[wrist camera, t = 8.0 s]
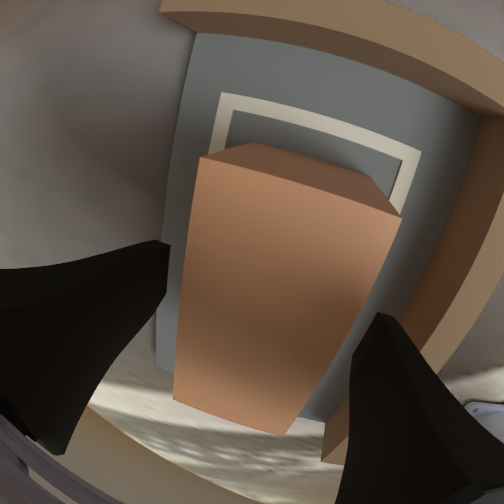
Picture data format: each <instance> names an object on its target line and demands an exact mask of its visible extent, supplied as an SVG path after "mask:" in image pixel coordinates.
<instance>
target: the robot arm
mask: <svg viewBox="0 0 504 504" xmlns="http://www.w3.org/2000/svg"><path fill="white" fill-rule="evenodd" d="M170 248H171V245H169V244H166V243H163V242H160V241H158V240H151V241H146V242H142V243H138V244H135V245H131V246H128V247H124V248H121V249H117V250H114V251H110V252H107V253H103V254H99V255H95V256H91V257H88V258H84V259H80V260H76V261H71V262H66V263H61V264H55V265H49V266H40V267H30V268H19V269H0V504H65V503H64V502H62V501H61V500H59V499H58V498H57V497H55V496H54V495H53V494H51V493H50V492H49V491H47V490H46V489H44V488H43V487H42V486H41V485H39V484H38V483H37V482H35V481H34V480H33V479H32V478H31V477H30V476H29V469H28V467H27V465H28V466H29V467H30V468H31V469H32V470H34V471H35V472H36V473H37V474H39V475H40V476H41V477H42V478H44V479H45V480H46V481H47V482H49V483H50V484H51V485H53V486H54V487H56V488H57V489H58V490H60V491H61V492H63V493H64V494H65V495H67V496H68V497H70V498H71V499H73V500H74V501H76V502H77V503H79V504H124V503H122V502H121V501H119V500H117V499H115V498H113V497H111V496H109V495H108V494H106V493H104V492H102V491H101V490H99V489H97V488H96V487H94V486H92V485H91V484H89V483H87V482H86V481H84V480H83V479H81V478H80V477H78V476H77V475H75V474H74V473H72V472H71V471H69V470H68V469H66V468H65V467H63V466H62V465H61V464H59V463H58V462H57V461H55V460H54V459H52V458H51V457H50V456H49V455H47V454H46V453H45V452H43V451H42V450H41V449H40V448H39V447H37V446H36V445H35V444H34V443H32V442H31V441H30V440H29V439H28V438H27V437H25V436H26V435H27V436H28V437H29V438H31V439H32V440H33V441H34V442H38V443H39V444H40V445H41V446H43V447H44V448H45V449H46V450H48V451H49V452H50V453H52V454H53V455H56V456H57V455H63V454H65V451H66V448H67V446H68V443H69V441H70V439H71V436H72V434H73V432H74V430H75V427H76V425H77V423H78V421H79V419H80V417H81V415H82V413H83V411H84V409H85V407H86V405H87V404H88V402H89V400H90V398H91V397H92V395H93V393H94V391H95V390H96V388H97V386H98V384H99V383H100V381H101V380H102V378H103V377H104V375H105V373H106V372H107V370H108V369H109V367H110V366H111V364H112V363H113V362H114V360H115V359H116V358H117V356H118V355H119V354H120V353H121V352H122V350H123V349H124V348H125V347H126V346H127V344H128V343H129V342H130V341H131V340H132V339H133V337H134V336H135V335H136V334H137V333H138V332H139V331H140V329H141V328H142V327H143V326H144V325H145V323H146V322H147V321H148V320H149V319H150V318H151V316H152V315H153V314H154V312H155V311H156V309H157V308H158V306H159V305H160V303H161V301H162V300H163V298H164V297H165V295H166V293H167V280H168V269H169V258H170ZM335 504H504V405H502V404H490V403H480V402H471V403H469V404H467V405H466V406H465V407H463V406H462V405H461V404H460V403H459V402H458V400H457V399H456V398H455V397H454V396H453V395H452V394H451V392H450V391H449V390H448V389H447V388H446V386H445V385H444V384H443V383H442V381H441V380H440V379H439V377H438V376H437V375H436V373H435V372H434V371H433V370H432V368H431V367H430V365H429V364H428V363H427V361H426V360H425V359H424V357H423V356H422V354H421V353H420V351H419V350H418V349H417V347H416V346H415V344H414V343H413V341H412V340H411V339H410V337H409V336H408V334H407V333H406V332H405V330H404V329H403V328H402V326H401V325H400V324H399V322H398V321H397V320H396V319H395V318H394V317H393V316H390V315H387V314H384V313H380V312H377V313H376V315H375V317H374V319H373V321H372V322H371V324H370V326H369V328H368V329H367V331H366V333H365V335H364V336H363V338H362V340H361V341H360V343H359V345H358V346H357V348H356V350H355V351H354V353H353V354H352V362H351V369H350V378H349V437H348V448H347V453H346V459H345V465H344V470H343V474H342V479H341V483H340V487H339V491H338V495H337V498H336V501H335Z"/></svg>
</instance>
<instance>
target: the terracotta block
mask: <svg viewBox="0 0 504 504" xmlns="http://www.w3.org/2000/svg"><path fill="white" fill-rule="evenodd" d="M401 221H402V217H401V216H400V215H399V213H398V212H397V211H396V209H395V208H394V207H393V205H392V204H391V203H390V201H389V200H388V199H387V197H386V196H385V195H384V193H383V192H382V191H381V190H380V188H379V187H378V186H377V184H376V183H375V182H374V181H373V179H372V178H371V177H369V176H366V175H363V174H361V173H358V172H355V171H352V170H349V169H346V168H343V167H340V166H337V165H334V164H331V163H328V162H325V161H321V160H318V159H315V158H311V157H308V156H305V155H301V154H298V153H294V152H291V151H287V150H284V149H280V148H276V147H272V146H269V145H265V144H261V143H257V142H251V143H247V144H243V145H240V146H236V147H232V148H229V149H225V150H222V151H218V152H215V153H212V154H208V155H205V156H202V157H200V160H199V166H198V172H197V178H196V184H195V190H194V196H193V202H192V209H191V215H190V222H189V229H188V236H187V244H186V251H185V259H184V267H183V276H182V285H181V294H180V304H179V315H178V326H177V338H176V351H175V366H174V383H173V399H174V400H176V401H178V402H181V403H183V404H186V405H188V406H191V407H193V408H196V409H198V410H201V411H204V412H206V413H209V414H212V415H214V416H217V417H220V418H223V419H226V420H229V421H232V422H235V423H238V424H241V425H244V426H247V427H250V428H254V429H257V430H260V431H264V432H268V433H271V434H275V435H279V436H282V437H283V436H284V434H285V433H286V432H287V430H288V429H289V427H290V426H291V425H292V423H293V422H294V420H295V419H296V417H297V416H298V415H299V413H300V412H301V410H302V409H303V407H304V406H305V404H306V403H307V401H308V400H309V398H310V397H311V395H312V394H313V392H314V390H315V389H316V387H317V386H318V384H319V383H320V381H321V379H322V378H323V376H324V375H325V373H326V371H327V370H328V368H329V366H330V365H331V363H332V361H333V360H334V358H335V356H336V354H337V353H338V351H339V349H340V348H341V346H342V344H343V342H344V340H345V339H346V337H347V335H348V333H349V331H350V330H351V328H352V326H353V324H354V322H355V320H356V318H357V317H358V315H359V313H360V311H361V309H362V307H363V305H364V303H365V301H366V299H367V297H368V295H369V293H370V291H371V289H372V287H373V285H374V283H375V281H376V278H377V276H378V274H379V272H380V270H381V268H382V265H383V263H384V261H385V259H386V257H387V254H388V252H389V250H390V247H391V245H392V243H393V240H394V238H395V236H396V233H397V231H398V228H399V226H400V223H401Z"/></svg>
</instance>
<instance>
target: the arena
mask: <svg viewBox="0 0 504 504" xmlns="http://www.w3.org/2000/svg"><path fill="white" fill-rule="evenodd" d="M159 13H161V14H163V15H165V16H167V17H169V18H171V19H173V20H175V21H177V22H178V23H180V24H182V25H184V26H186V27H188V28H189V29H191V30H193V31H195V32H196V33H197V34H196V38H195V42H194V46H193V50H192V54H191V58H190V62H189V66H188V70H187V75H186V79H185V84H184V88H183V93H182V98H181V103H180V108H179V113H178V118H177V124H176V129H175V135H174V141H173V147H172V153H171V160H170V166H169V173H168V180H167V188H166V196H165V204H164V213H163V222H162V233H161V242H163V243H166V244H169V245H171V248H170V258H169V269H168V280H167V293H166V295H165V297H164V298H163V300H162V301H161V303H160V305H159V306H158V308H157V309H156V367H158V368H161V369H163V370H165V371H168V372H170V373H172V374H174V366H175V351H176V338H177V326H178V315H179V304H180V294H181V285H182V276H183V267H184V259H185V251H186V244H187V236H188V229H189V222H190V215H191V209H192V202H193V196H194V190H195V184H196V178H197V172H198V166H199V160H200V157H202V156H205V155H208V154H212V153H215V152H218V151H222V150H225V149H229V148H232V147H236V146H240V145H243V144H247V143H251V142H257V143H261V144H265V145H269V146H272V147H276V148H280V149H284V150H287V151H291V152H294V153H298V154H301V155H305V156H308V157H311V158H315V159H318V160H321V161H325V162H328V163H331V164H334V165H337V166H340V167H343V168H346V169H349V170H352V171H355V172H358V173H361V174H363V175H366V176H369V177H371V178H372V179H373V181H374V182H375V183H376V184H377V186H378V187H379V188H380V190H381V191H382V192H383V193H384V195H385V196H386V197H387V199H388V200H389V201H390V203H391V204H392V205H393V207H394V208H395V209H396V211H397V212H398V213H399V215H400V216H401V217H402V221H401V223H400V226H399V228H398V231H397V233H396V236H395V238H394V240H393V243H392V245H391V247H390V250H389V252H388V254H387V257H386V259H385V261H384V263H383V265H382V268H381V270H380V272H379V274H378V276H377V278H376V281H375V283H374V285H373V287H372V289H371V291H370V293H369V295H368V297H367V299H366V301H365V303H364V305H363V307H362V309H361V311H360V313H359V315H358V317H357V318H356V320H355V322H354V324H353V326H352V328H351V330H350V331H349V333H348V335H347V337H346V339H345V340H344V342H343V344H342V346H341V348H340V349H339V351H338V353H337V354H336V356H335V358H334V360H333V361H332V363H331V365H330V366H329V368H328V370H327V371H326V373H325V375H324V376H323V378H322V379H321V381H320V383H319V384H318V386H317V387H316V389H315V390H314V392H313V394H312V395H311V397H310V398H309V400H308V401H307V403H306V404H305V406H304V407H303V409H302V410H301V412H300V413H299V415H298V416H299V417H303V418H307V419H311V420H315V421H320V422H324V423H325V431H324V440H323V448H322V455H321V462H325V463H331V464H338V465H345V459H346V453H347V448H348V437H349V378H350V369H351V362H352V354H353V353H354V351H355V350H356V348H357V346H358V345H359V343H360V341H361V340H362V338H363V336H364V335H365V333H366V331H367V329H368V328H369V326H370V324H371V322H372V321H373V319H374V317H375V315H376V313H377V312H380V313H384V314H387V315H390V316H393V317H394V318H395V319H396V320H397V321H398V322H399V324H400V325H401V326H402V328H403V329H404V330H405V332H406V333H407V334H408V336H409V337H410V339H411V340H412V341H413V343H414V344H415V346H416V347H417V349H418V350H419V351H420V353H421V354H422V356H423V357H424V359H425V360H426V361H427V363H428V364H429V365H430V367H431V368H432V370H433V371H434V372H435V373H436V374H437V373H438V372H439V371H440V369H441V368H442V367H443V366H444V364H445V363H446V362H447V361H448V359H449V358H450V357H451V355H452V354H453V353H454V351H455V350H456V349H457V347H458V346H459V345H460V343H461V342H462V340H463V339H464V337H465V336H466V335H467V333H468V332H469V330H470V329H471V327H472V326H473V324H474V323H475V321H476V320H477V318H478V317H479V315H480V313H481V312H482V310H483V309H484V307H485V305H486V304H487V302H488V300H489V298H490V297H491V295H492V293H493V292H494V290H495V288H496V286H497V284H498V283H499V281H500V279H501V277H502V275H503V273H504V61H502V60H501V59H499V58H498V57H497V56H495V55H494V54H492V53H490V52H489V51H487V50H486V49H484V48H483V47H481V46H479V45H478V44H476V43H474V42H473V41H471V40H469V39H468V38H466V37H464V36H462V35H461V34H459V33H457V32H455V31H453V30H451V29H449V28H447V27H445V26H443V25H441V24H439V23H437V22H435V21H433V20H431V19H429V18H427V17H424V16H422V15H420V14H418V13H415V12H413V11H411V10H408V9H406V8H403V7H400V6H398V5H395V4H392V3H390V2H387V1H384V0H162V2H161V5H160V9H159Z"/></svg>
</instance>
